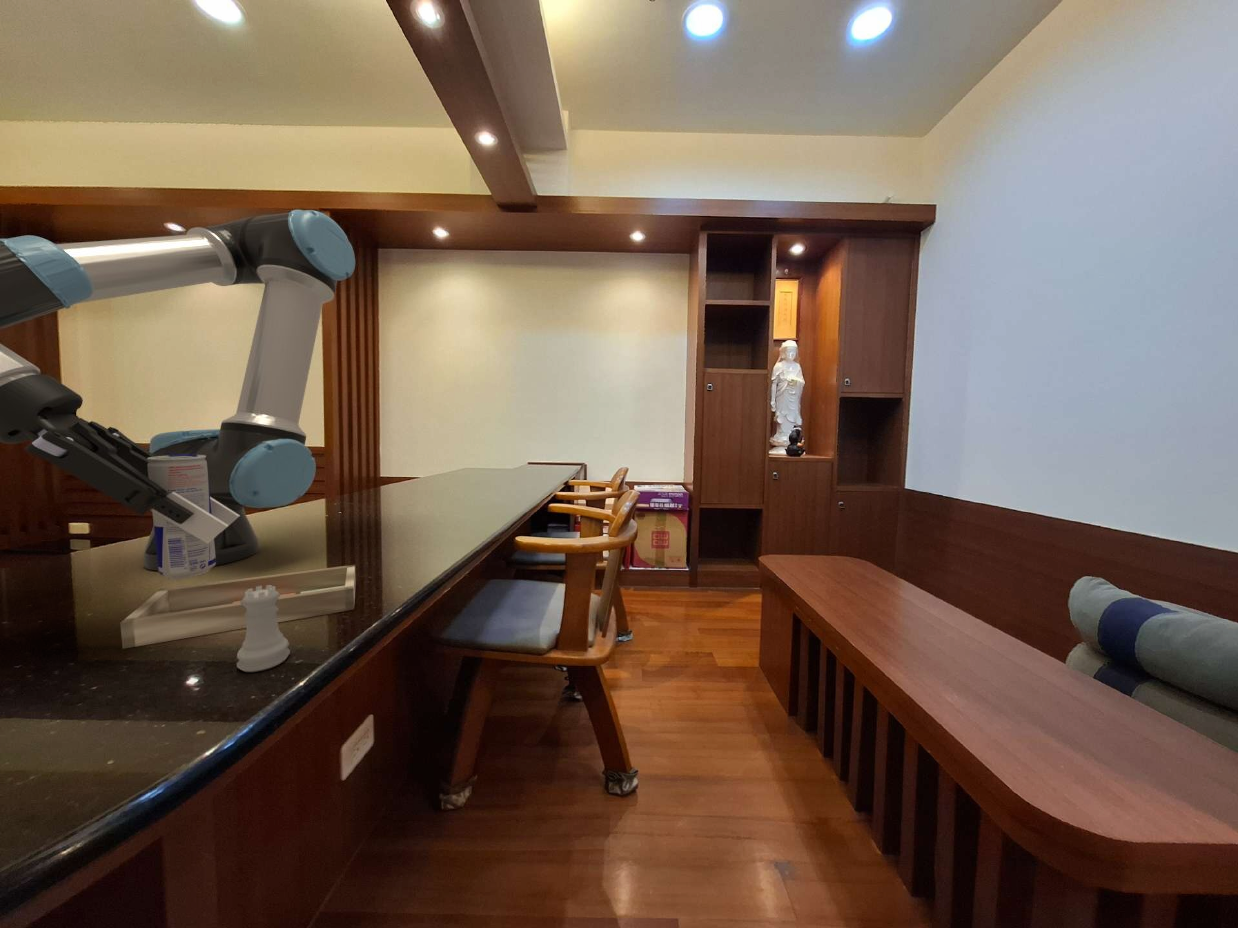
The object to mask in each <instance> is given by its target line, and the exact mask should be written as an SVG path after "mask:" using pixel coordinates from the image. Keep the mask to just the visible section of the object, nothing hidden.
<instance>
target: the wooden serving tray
mask: <svg viewBox="0 0 1238 928" xmlns="http://www.w3.org/2000/svg"><path fill="white" fill-rule="evenodd" d="M356 582H357V581H356V564H352V565H351V564H348V565H343V566H342V565H340V566H334V567H333V566H332V567H325V568H319V569H311V570H302V571H296V572H295V571H294V572H293V571H292V572H286V573H278V574H270V575H262V576H255V577H247V578H239V579H237V578H236V579H232V580H231V579H230V580H224V581H222V580H221V581H215V582H207V583H198V584H191V585H190V584H189V585H181V586H174V587H168V588H160V589H159V590H157V592H155V593H154V594H153V595H151V597H150V598H148V599H147V600H146V601H145V602H143V603H142V604H141V605H140V606H139V607H137V608H136V609H135V610H134V611H133V612H132V613H130V614H129V615H127V617H126V618H124V619H122V621H121V622H120V636H121V643H122V645H121V646H122V649H123V650H124V649H130V648H134V647H140V646H147V645H152V644H159V643H163V642H164V643H165V642H169V641H177V640H182V639H187V638H193V637H194V638H195V637H199V636H206V635H212V634H217V633H223V632H224V633H225V632H231V631H235V630H241V629H247V619H246V618H245V617H244V615H245V613H246V612H247V608H246V607H244V606H243V605H242V604H241V603H240V602H239V603H233V602H234V601H241V600H242V599H243V598H244V596H245V593H244V592H246V590H248V589H250V588H251V589H253V592H254V591H256V587H258V586H262V590H265V589H266V586H267V585H272V587H273V586H275V588H276V591H277V592H278V593H279V594H280V595H283V594H290V593H296V594H294V595H287V596H280V597H279V598H278V599H277V601H276V603H275V606H276V607H277V608H278V611H277V612H276V617H277V623H282V622H287V621H293V620H300V619H305V618H311V617H318V616H323V615H328V614H335V613H340V612H341V613H342V612H346V611H352V610H353V611H354V610H355V602H356V601H355V600H356V585H357V583H356ZM338 586H345V587H342V588H335V589H328V590H321V591H315V592H308V593H301V592H303V591H310V590H317V589H324V588H331V587H338ZM300 593H301V594H300ZM232 603H233V604H232Z"/></svg>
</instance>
